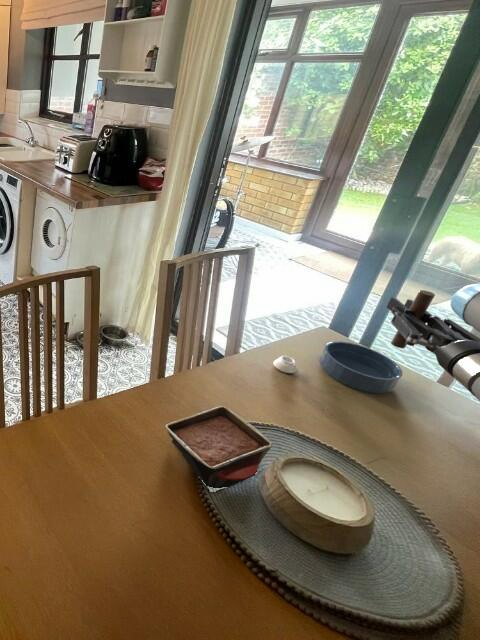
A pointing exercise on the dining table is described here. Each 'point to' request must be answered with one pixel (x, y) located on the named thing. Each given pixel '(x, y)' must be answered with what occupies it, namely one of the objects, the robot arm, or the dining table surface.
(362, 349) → the bowl
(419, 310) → the stirring stick
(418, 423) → the dining table surface
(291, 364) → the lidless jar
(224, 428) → the baking dish
